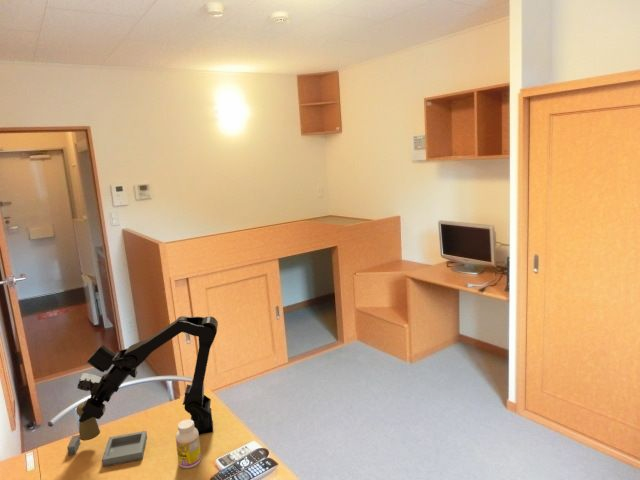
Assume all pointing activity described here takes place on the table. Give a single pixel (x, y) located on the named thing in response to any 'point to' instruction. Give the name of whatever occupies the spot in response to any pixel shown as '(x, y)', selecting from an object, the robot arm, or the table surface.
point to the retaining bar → (73, 445)
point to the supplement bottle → (188, 444)
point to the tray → (124, 448)
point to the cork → (87, 426)
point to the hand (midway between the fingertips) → (82, 417)
